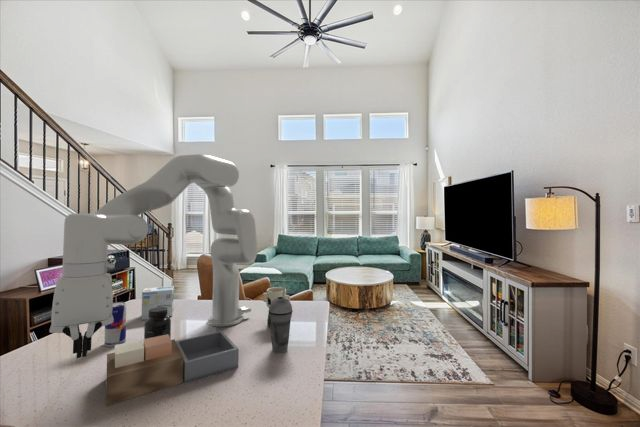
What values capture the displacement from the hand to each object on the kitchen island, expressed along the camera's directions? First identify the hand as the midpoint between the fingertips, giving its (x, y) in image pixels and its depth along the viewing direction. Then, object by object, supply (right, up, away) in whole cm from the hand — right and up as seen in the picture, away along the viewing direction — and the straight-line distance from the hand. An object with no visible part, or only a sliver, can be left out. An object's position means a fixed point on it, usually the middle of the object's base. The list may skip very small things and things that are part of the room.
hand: (82, 354), depth 62 cm
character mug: (+35, -11, +44) cm, 57 cm away
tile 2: (+11, -4, +9) cm, 15 cm away
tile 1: (+7, -4, +5) cm, 9 cm away
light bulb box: (-12, -10, +51) cm, 53 cm away
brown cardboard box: (+9, -10, +7) cm, 15 cm away
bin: (+21, -10, +15) cm, 28 cm away
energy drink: (-12, -10, +26) cm, 30 cm away
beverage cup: (+39, -11, +24) cm, 48 cm away
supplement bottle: (+3, -10, +23) cm, 25 cm away
